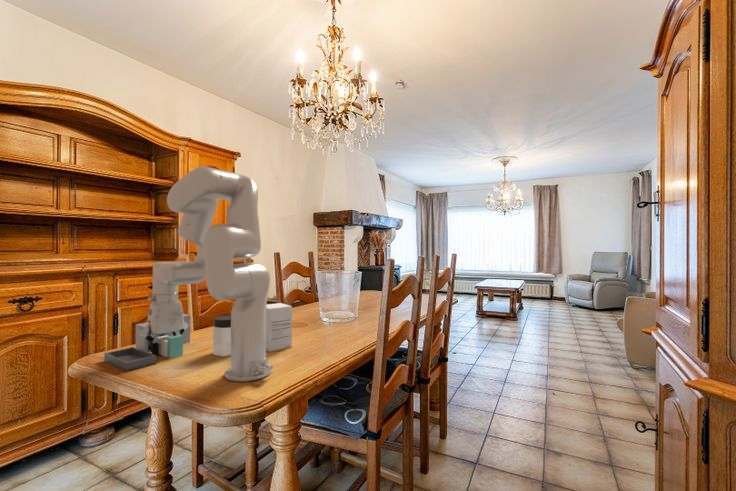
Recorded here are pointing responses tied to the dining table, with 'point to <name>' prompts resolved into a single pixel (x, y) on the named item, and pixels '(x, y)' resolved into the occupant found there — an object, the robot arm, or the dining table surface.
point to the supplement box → (278, 326)
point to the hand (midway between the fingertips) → (165, 351)
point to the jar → (222, 336)
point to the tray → (130, 358)
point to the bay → (144, 343)
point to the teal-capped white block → (170, 346)
